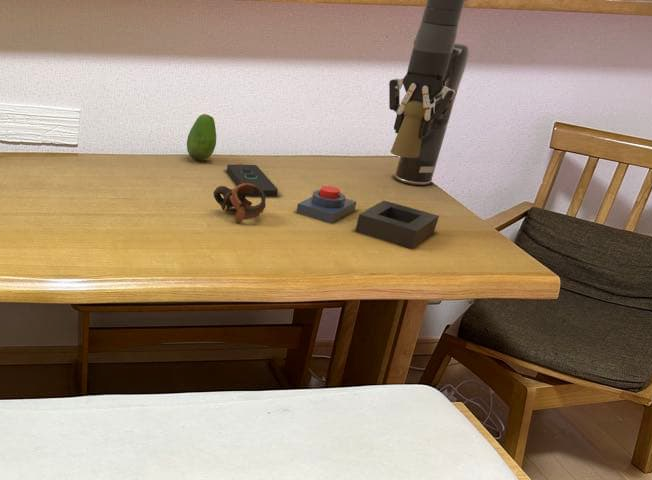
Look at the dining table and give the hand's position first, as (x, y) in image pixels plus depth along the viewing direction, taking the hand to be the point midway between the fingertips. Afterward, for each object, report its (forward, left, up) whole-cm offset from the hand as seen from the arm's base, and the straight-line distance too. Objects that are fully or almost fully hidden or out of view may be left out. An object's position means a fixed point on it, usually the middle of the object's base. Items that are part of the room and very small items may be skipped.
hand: (409, 135), depth 160 cm
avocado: (-6, -56, -20) cm, 60 cm away
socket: (+4, +4, -20) cm, 20 cm away
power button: (+4, -13, -16) cm, 21 cm away
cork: (0, 0, -4) cm, 4 cm away
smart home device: (0, -36, -20) cm, 41 cm away
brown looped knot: (+22, -26, -20) cm, 40 cm away
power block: (+4, -13, -20) cm, 24 cm away
